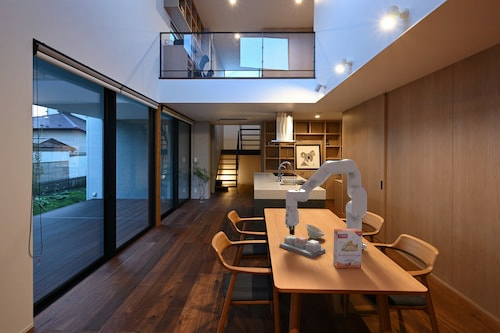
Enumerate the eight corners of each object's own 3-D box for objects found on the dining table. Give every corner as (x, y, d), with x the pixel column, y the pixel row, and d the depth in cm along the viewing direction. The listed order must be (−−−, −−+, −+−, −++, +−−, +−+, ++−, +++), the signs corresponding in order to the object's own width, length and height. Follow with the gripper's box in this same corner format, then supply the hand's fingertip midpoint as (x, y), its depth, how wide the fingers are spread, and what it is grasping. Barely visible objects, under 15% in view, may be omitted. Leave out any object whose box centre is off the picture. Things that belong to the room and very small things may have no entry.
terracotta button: (307, 242, 169) (307, 238, 169) (302, 244, 166) (302, 239, 166) (301, 240, 173) (301, 236, 173) (296, 242, 170) (296, 238, 169)
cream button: (318, 246, 162) (318, 241, 162) (314, 248, 159) (314, 243, 159) (312, 244, 166) (312, 239, 166) (307, 246, 163) (307, 241, 163)
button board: (325, 252, 165) (325, 243, 164) (311, 258, 155) (311, 249, 155) (293, 241, 184) (293, 234, 184) (279, 246, 174) (279, 238, 174)
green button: (296, 241, 176) (296, 237, 176) (291, 243, 173) (291, 239, 172) (290, 240, 180) (290, 235, 180) (286, 241, 176) (286, 237, 176)
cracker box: (337, 269, 140) (337, 231, 139) (332, 264, 146) (333, 228, 145) (361, 268, 141) (362, 231, 140) (356, 263, 147) (357, 227, 146)
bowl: (325, 242, 182) (325, 228, 182) (305, 241, 185) (305, 227, 185) (323, 236, 197) (323, 223, 197) (305, 234, 200) (305, 222, 199)
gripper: (288, 210, 167) (289, 238, 168) (302, 207, 177) (303, 233, 178) (280, 209, 173) (280, 235, 174) (294, 205, 183) (294, 231, 184)
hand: (292, 234), depth 176 cm, fingers closed
